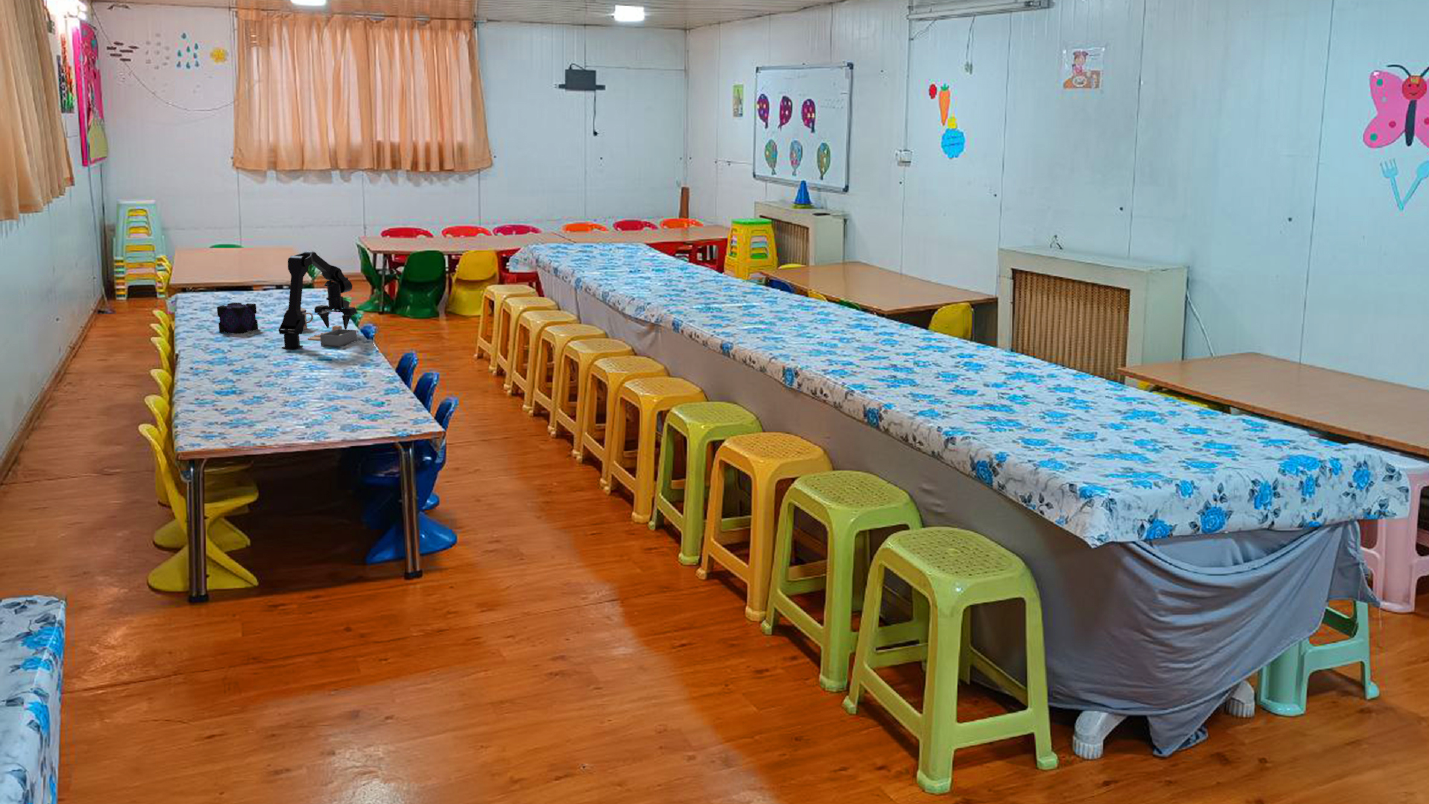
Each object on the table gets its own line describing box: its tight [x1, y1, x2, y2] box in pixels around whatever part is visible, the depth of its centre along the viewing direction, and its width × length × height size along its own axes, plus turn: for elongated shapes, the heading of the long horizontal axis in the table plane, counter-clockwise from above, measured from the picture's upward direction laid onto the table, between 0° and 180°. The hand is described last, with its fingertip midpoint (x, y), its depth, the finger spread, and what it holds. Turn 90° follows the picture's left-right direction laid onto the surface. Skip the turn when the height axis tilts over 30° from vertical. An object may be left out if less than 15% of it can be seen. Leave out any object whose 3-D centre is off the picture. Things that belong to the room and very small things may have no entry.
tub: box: [320, 328, 358, 348], centre depth 508 cm, size 14×9×5 cm, turn 165°
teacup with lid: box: [285, 307, 314, 331], centre depth 538 cm, size 12×9×12 cm
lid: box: [307, 325, 343, 342], centre depth 522 cm, size 17×10×4 cm, turn 165°
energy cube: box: [216, 302, 259, 335], centre depth 532 cm, size 12×12×12 cm
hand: (336, 328), depth 528 cm, fingers open, 9 cm apart
